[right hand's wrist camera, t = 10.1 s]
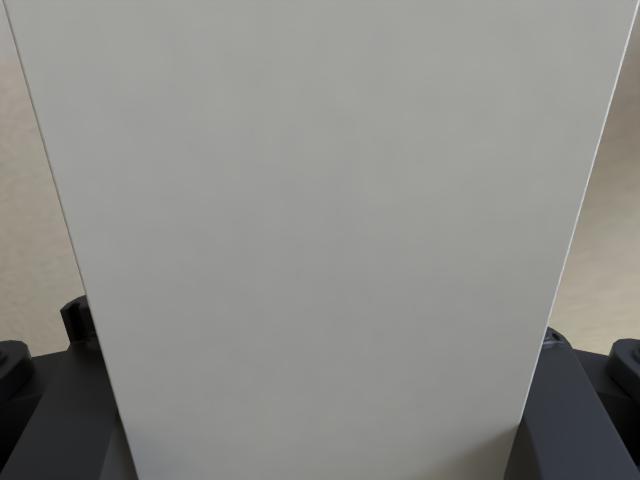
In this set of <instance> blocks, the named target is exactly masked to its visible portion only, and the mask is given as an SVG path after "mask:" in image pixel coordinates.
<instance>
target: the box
mask: <svg viewBox="0 0 640 480" xmlns="http://www.w3.org/2000/svg"><path fill="white" fill-rule="evenodd" d="M3 3H4V7H5V10H6V14H7V17H8V21H9V24H10V28H11V31H12V35H13V39H14V42H15V46H16V49H17V53H18V56H19V60H20V63H21V67H22V70H23V74H24V78H25V81H26V85H27V88H28V92H29V95H30V99H31V102H32V106H33V109H34V113H35V117H36V120H37V124H38V127H39V131H40V134H41V138H42V141H43V145H44V148H45V152H46V156H47V159H48V163H49V166H50V170H51V173H52V177H53V180H54V184H55V187H56V191H57V195H58V198H59V202H60V205H61V209H62V212H63V216H64V219H65V223H66V226H67V230H68V234H69V237H70V241H71V244H72V248H73V251H74V255H75V258H76V262H77V266H78V269H79V273H80V276H81V280H82V283H83V287H84V290H85V294H86V297H87V301H88V305H89V308H90V312H91V315H92V319H93V322H94V326H95V329H96V333H97V336H98V340H99V344H100V347H101V351H102V354H103V358H104V361H105V365H106V368H107V372H108V375H109V379H110V383H111V386H112V390H113V393H114V397H115V400H116V404H117V407H118V411H119V414H120V418H121V422H122V425H123V429H124V432H125V436H126V439H127V443H128V446H129V450H130V454H131V457H132V461H133V464H134V468H135V471H136V475H137V478H138V480H504V477H505V474H506V470H507V467H508V463H509V460H510V456H511V453H512V449H513V446H514V442H515V439H516V435H517V432H518V428H519V425H520V421H521V417H522V414H523V410H524V407H525V403H526V400H527V396H528V393H529V389H530V386H531V382H532V379H533V375H534V372H535V368H536V365H537V361H538V358H539V354H540V351H541V347H542V344H543V340H544V337H545V333H546V330H547V326H548V323H549V319H550V316H551V312H552V309H553V305H554V302H555V298H556V294H557V291H558V287H559V284H560V280H561V277H562V273H563V270H564V266H565V263H566V259H567V256H568V252H569V249H570V245H571V242H572V238H573V235H574V231H575V228H576V224H577V221H578V217H579V214H580V210H581V207H582V203H583V200H584V196H585V193H586V189H587V186H588V182H589V179H590V175H591V171H592V168H593V164H594V161H595V157H596V154H597V150H598V147H599V143H600V140H601V136H602V133H603V129H604V126H605V122H606V119H607V115H608V112H609V108H610V105H611V101H612V98H613V94H614V91H615V87H616V84H617V80H618V77H619V73H620V70H621V66H622V63H623V59H624V56H625V52H626V49H627V45H628V41H629V38H630V34H631V31H632V27H633V24H634V20H635V17H636V13H637V10H638V6H639V3H640V0H3Z"/></svg>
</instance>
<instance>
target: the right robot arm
mask: <svg viewBox="0 0 640 480" xmlns="http://www.w3.org/2000/svg"><path fill="white" fill-rule="evenodd" d="M60 312H61V315H62V318H63V322H64V325H65V328H66V331H67V334H68V337H69V340H70V346H69V347H68V349H67V350H66V351H62V352H57V353H52V354H47V355H42V356H37V357H31V354H30V352H29V349H28V346H27V345H26V344H25V343H23V342H22V341H14V340H9V341H1V342H0V480H138V478H137V475H136V471H135V468H134V464H133V461H132V457H131V454H130V450H129V446H128V443H127V439H126V436H125V432H124V429H123V425H122V422H121V418H120V414H119V411H118V407H117V404H116V400H115V397H114V393H113V390H112V386H111V383H110V379H109V375H108V372H107V368H106V365H105V361H104V358H103V354H102V351H101V347H100V344H99V340H98V336H97V333H96V329H95V326H94V322H93V319H92V315H91V312H90V308H89V305H88V301H87V297H86V295H84V296H81V297H78V298H76V299H74V300H73V301H71V302H69V303H67V304H66V305H65V306H64V307H63V308H62V309H61V310H60ZM504 480H640V340H637V339H630V338H629V339H619V340H617V341H616V342H615V343H613V345H612V348H611V351H610V353H609V356H607V355H602V354H597V353H591V352H586V351H581V350H576V349H572V347H571V345H570V343H569V342H568V341H567V340H566V338H565V337H564V336H563V335H561V334H560V333H558V332H557V331H555V330H554V329H552V328H550V327H547V330H546V333H545V337H544V340H543V344H542V347H541V351H540V354H539V358H538V361H537V365H536V368H535V372H534V375H533V379H532V382H531V386H530V389H529V393H528V396H527V400H526V403H525V407H524V410H523V414H522V417H521V421H520V425H519V428H518V432H517V435H516V439H515V442H514V446H513V449H512V453H511V456H510V460H509V463H508V467H507V470H506V474H505V477H504Z"/></svg>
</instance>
